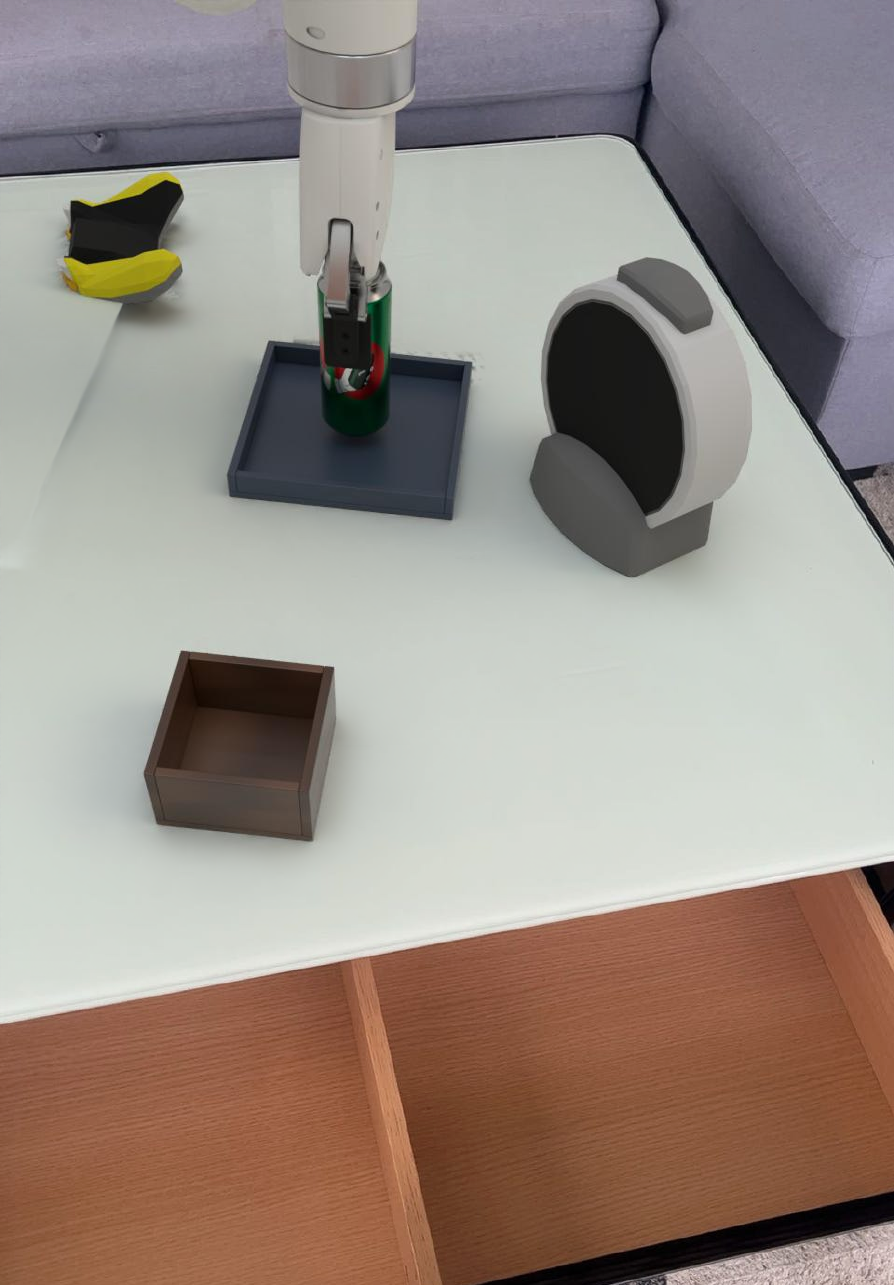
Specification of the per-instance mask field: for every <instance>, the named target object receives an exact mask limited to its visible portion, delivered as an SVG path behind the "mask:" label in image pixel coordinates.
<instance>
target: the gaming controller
mask: <svg viewBox="0 0 894 1285" xmlns="http://www.w3.org/2000/svg"><path fill="white" fill-rule="evenodd" d="M184 200H185V194H184V189H183V187H182V184H181V182H180V180H179V179H178V178H177V177H176V176H175V175H172V174H171V173H169V172H168V171H161V172H156V173H150V174H147V175H145V176H144V177H142V178H141V179H139V180H137V181H136V182H135V183H133V184H131V185H129V186H128V187H126V188H124V189H123V190H122V191H120V192H119V193H117V194H114V195H113V196H111V197H109V198H108V199H106V200H104V201H102V202H92V201H88V200H87V199H72V200H70V201H69V202H62V210H63V213H64V215H65V217H66V219H67V221H68V223H69V227H68V229H67V231H66V237H67V239H68V240H69V246H68V255H64V256H63V257H58V258H55V261H56V263H57V264H58V267H59V268H60V269H61V273H62V278H63V280H64V282H65V283H66V284H67V286H68V288H70V290H71V291H73V292H78V294H79V295H80V296H81V295H82V296H84V297H88V298H93V299H97V300H104V301H108V302H113V303H121V304H122V305H131V304H133V305H134V304H143V303H152V302H154V301H155V300H156V299H158V298H159V297H161V296H162V295H163V294H165V293H166V292H168V291H169V290H170V289H171V288H172V287H173V286H174V285H175V283H176V282H177V281H178V279H179V278H180V277H181V276H182V274H183V272H184V270H183V264H182V261H181V259H180V257H179V255H178V254H175V253H173V252H171V251H169V250H167V249H165V248H160V246H161V242H162V240H163V238H164V236H165V234H166V232H167V231H168V229H169V226H170V225H171V223H172V221H173V220H174V218H175V217H176V215H177V213H178V212H179V209H180V207H181V205H182V203H183V202H184Z"/></svg>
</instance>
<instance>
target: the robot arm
mask: <svg viewBox="0 0 894 1285" xmlns="http://www.w3.org/2000/svg"><path fill="white" fill-rule="evenodd" d="M172 1H173V2H174V3H175V4H177V5H179V6H181V7H183V8H185V9H188V10H190V11H192V12H195V13H199V14H204V15H207V16H208V15H209V16H226V15H230V14H235V13H239V12H241V11H244V10H245V9H248V8H249V7H251V6H253V5H254V4H255V3H256V2H257V1H258V0H172ZM418 3H419V2H418V0H282V11H283V12H282V13H283V32H284V34H283V35H284V52H285V53H284V54H285V69H286V70H285V73H286V90H287V92H288V94H289V96H290V98H291V99H292V100H293V101H294V102H295V103H297V105H299V106H301V116H300V132H299V133H300V134H299V157H298V158H299V160H298V161H299V166H298V167H299V169H298V180H299V181H298V182H299V184H298V185H299V188H298V195H299V196H298V197H299V268H300V270H301V272H302V273H303V274H304V276H306V277H311V275H312V276H318V275H319V272H320V270H321V269H322V268H321V267H322V266H323V265H324V310H323V336H324V362H325V364H326V365H327V366H330V367H339V368H348V369H358V370H368V369H370V367H371V362H372V314H367V306H368V281H369V280H371V279H372V278H373V277H374V276H375V275H376V273H377V270H378V266H379V262H380V260H381V258H382V253H383V249H384V245H385V241H386V236H387V232H388V227H389V221H390V218H391V212H392V210H391V209H392V203H393V191H394V181H395V180H394V178H395V176H394V175H395V158H396V117H397V116H396V114H397V113H396V112H398V111H400V110H403V109H404V108H405V107H406V106H407V105H409V104H411V102H412V100H413V99H414V97H415V93H416V71H417V70H416V68H417V66H416V65H417V38H418V37H417V36H418V34H417V33H418V32H417V28H418V27H417V26H418ZM351 260H352V261H358V263H359V265H360V266H361V268H353V267H351ZM381 261H382V260H381ZM323 262H324V263H325V264H324V263H323ZM350 281H351V282H358V300H357V298H356V295H355V294H350Z"/></svg>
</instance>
